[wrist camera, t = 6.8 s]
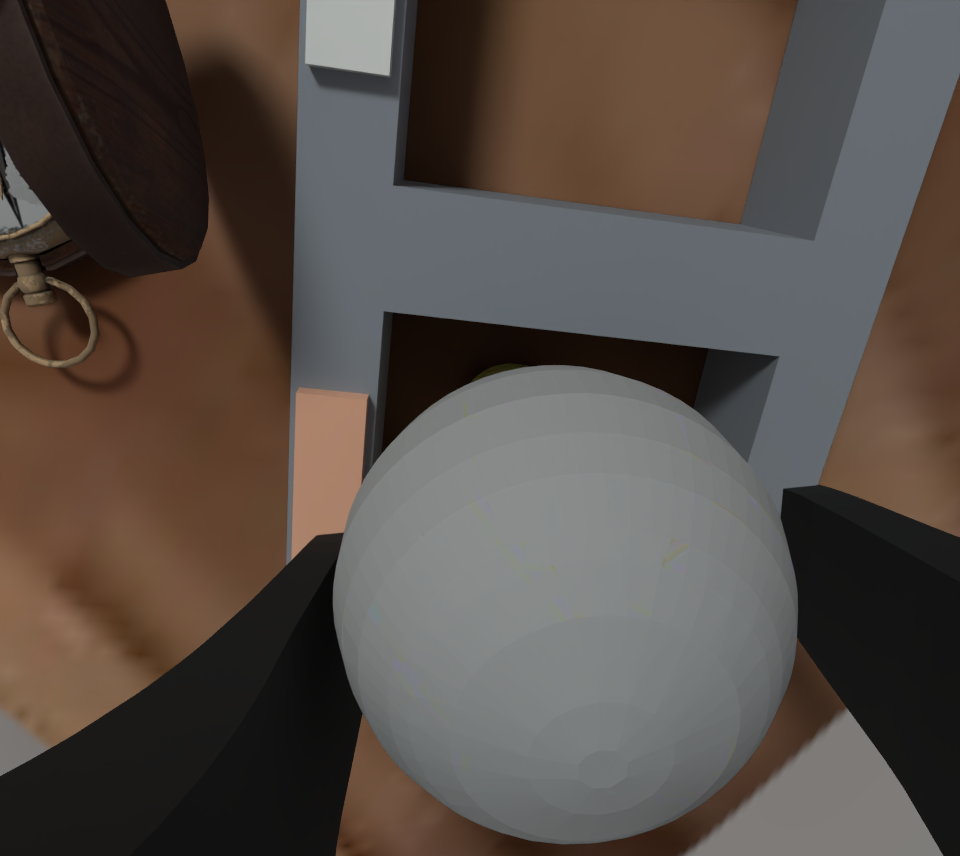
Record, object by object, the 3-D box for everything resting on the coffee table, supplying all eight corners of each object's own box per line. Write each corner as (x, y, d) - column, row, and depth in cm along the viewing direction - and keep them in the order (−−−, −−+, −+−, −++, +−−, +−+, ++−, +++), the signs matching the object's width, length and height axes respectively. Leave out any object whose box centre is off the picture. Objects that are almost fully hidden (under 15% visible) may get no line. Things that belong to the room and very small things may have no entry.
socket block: (966, -300, 11) (1165, -475, 8) (689, 637, 18) (739, 736, 15) (351, -432, 10) (311, -686, 7) (309, 610, 17) (279, 709, 14)
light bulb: (614, 510, 16) (831, 967, 7) (387, 503, 16) (300, 972, 7) (645, 283, 14) (1006, 498, 5) (388, 270, 14) (264, 477, 5)
